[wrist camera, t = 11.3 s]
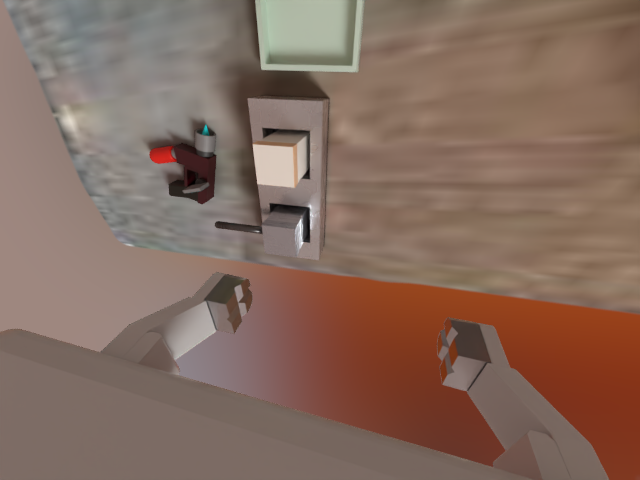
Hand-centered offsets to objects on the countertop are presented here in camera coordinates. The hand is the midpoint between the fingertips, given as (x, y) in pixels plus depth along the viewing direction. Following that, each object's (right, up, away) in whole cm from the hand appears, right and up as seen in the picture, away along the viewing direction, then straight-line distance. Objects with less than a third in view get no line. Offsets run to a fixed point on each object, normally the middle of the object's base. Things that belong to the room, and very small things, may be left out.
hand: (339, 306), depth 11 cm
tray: (-2, +25, +15) cm, 29 cm away
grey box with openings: (-7, +11, +25) cm, 28 cm away
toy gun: (-20, +15, +26) cm, 36 cm away
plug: (-4, +14, +21) cm, 26 cm away
